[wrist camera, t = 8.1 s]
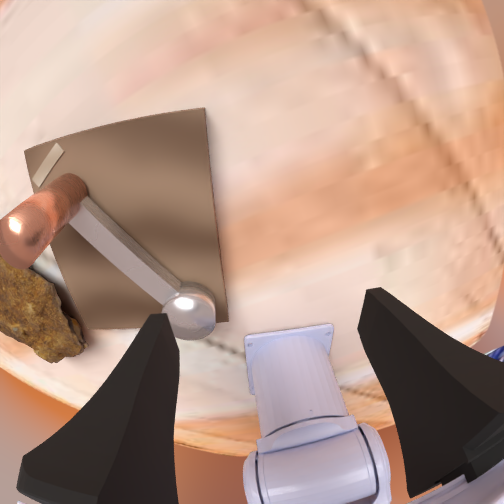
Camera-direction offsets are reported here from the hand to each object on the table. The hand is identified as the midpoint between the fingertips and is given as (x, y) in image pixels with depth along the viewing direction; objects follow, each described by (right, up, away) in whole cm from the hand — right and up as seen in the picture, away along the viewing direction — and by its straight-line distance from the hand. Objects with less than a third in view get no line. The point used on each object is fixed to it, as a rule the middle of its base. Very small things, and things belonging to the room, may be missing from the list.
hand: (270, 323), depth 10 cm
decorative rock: (-21, -1, +11) cm, 24 cm away
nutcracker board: (-9, +4, +9) cm, 13 cm away
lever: (-8, +2, +8) cm, 12 cm away
